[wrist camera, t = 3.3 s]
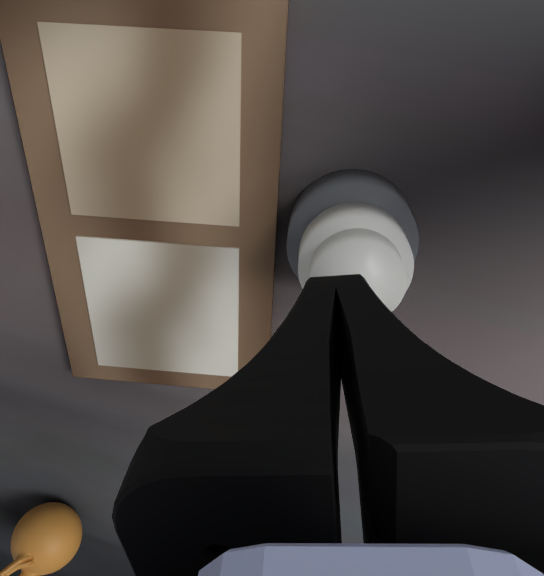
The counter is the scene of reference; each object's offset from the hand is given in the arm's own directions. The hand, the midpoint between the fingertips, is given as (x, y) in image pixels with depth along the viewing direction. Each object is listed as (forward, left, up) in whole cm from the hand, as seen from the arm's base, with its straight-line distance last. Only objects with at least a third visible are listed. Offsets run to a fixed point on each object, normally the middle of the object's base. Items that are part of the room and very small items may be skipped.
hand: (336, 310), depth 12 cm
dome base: (-1, +1, -8) cm, 9 cm away
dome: (-1, +1, -6) cm, 6 cm away
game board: (+7, -2, -8) cm, 11 cm away
